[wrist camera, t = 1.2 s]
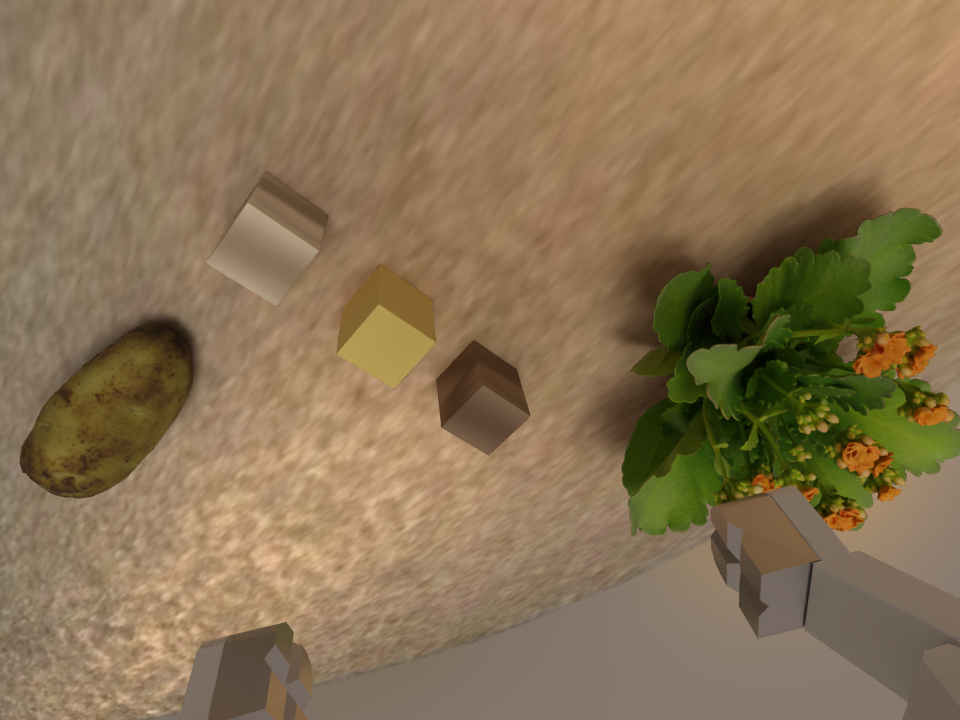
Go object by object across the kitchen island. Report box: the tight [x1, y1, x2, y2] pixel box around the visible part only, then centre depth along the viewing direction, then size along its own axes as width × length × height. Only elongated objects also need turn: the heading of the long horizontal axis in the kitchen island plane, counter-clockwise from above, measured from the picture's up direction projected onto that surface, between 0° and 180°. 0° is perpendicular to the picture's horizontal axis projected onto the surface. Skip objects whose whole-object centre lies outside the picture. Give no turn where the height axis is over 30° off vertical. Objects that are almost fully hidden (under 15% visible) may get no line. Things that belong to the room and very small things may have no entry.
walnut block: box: [436, 340, 531, 455], centre depth 46 cm, size 4×4×6 cm
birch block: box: [206, 171, 328, 306], centre depth 38 cm, size 4×4×6 cm
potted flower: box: [622, 208, 960, 536], centre depth 43 cm, size 25×24×18 cm
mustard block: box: [336, 264, 436, 389], centre depth 42 cm, size 4×4×6 cm
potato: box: [20, 325, 193, 498], centre depth 42 cm, size 8×13×8 cm, turn 116°
